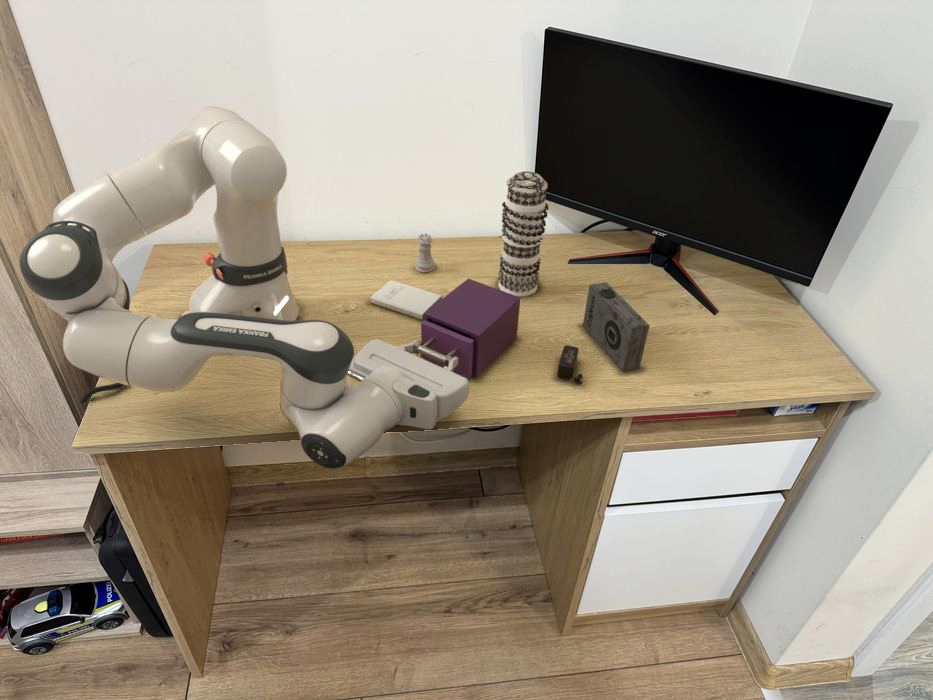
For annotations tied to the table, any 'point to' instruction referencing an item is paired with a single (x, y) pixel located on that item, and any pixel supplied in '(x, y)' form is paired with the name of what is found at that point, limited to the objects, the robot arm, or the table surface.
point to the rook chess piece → (424, 255)
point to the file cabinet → (480, 319)
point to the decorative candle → (522, 233)
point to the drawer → (447, 346)
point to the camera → (615, 326)
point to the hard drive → (405, 299)
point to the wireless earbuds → (569, 364)
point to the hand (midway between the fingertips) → (437, 351)
